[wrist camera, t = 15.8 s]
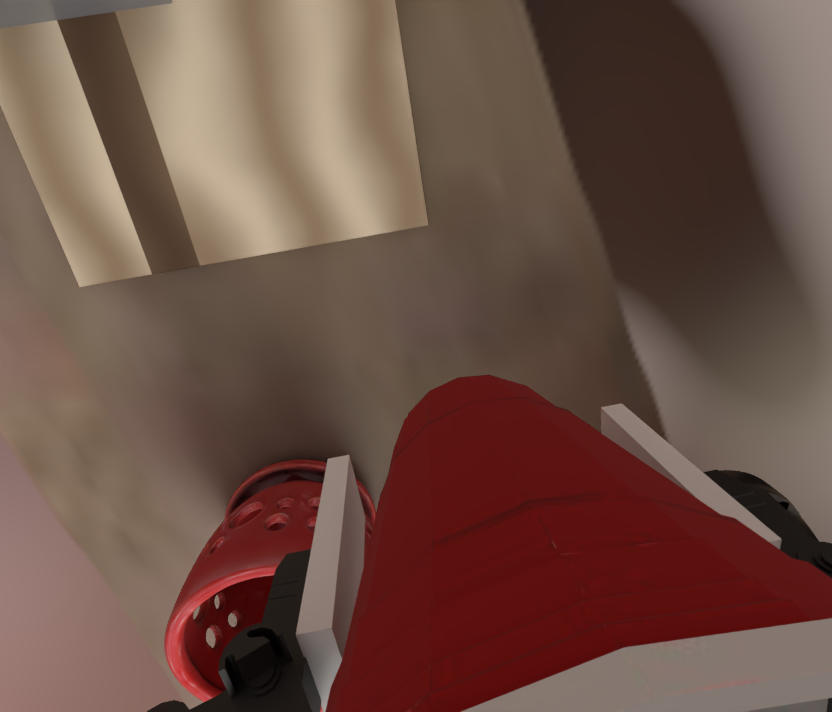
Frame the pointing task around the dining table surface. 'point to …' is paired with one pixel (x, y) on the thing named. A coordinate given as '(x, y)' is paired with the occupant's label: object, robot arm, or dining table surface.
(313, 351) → the dining table surface
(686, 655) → the plastic cup
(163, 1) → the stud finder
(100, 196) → the plywood panel
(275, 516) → the plant pot
